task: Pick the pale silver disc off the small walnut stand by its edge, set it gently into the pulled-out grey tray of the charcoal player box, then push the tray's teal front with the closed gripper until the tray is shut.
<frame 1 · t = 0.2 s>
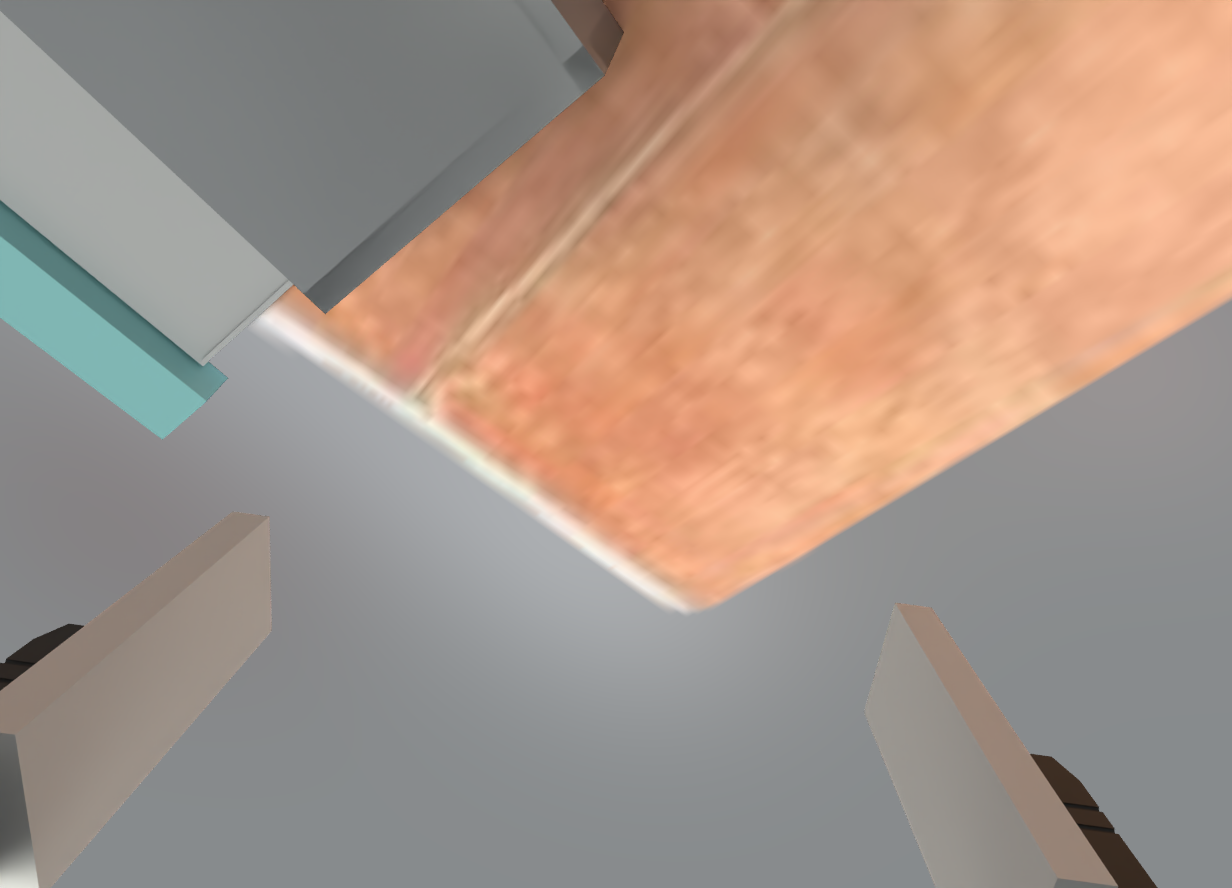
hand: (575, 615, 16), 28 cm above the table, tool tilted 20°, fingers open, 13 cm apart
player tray: (57, 197, 39), point 1 cm above the table, slide at 15.0 cm
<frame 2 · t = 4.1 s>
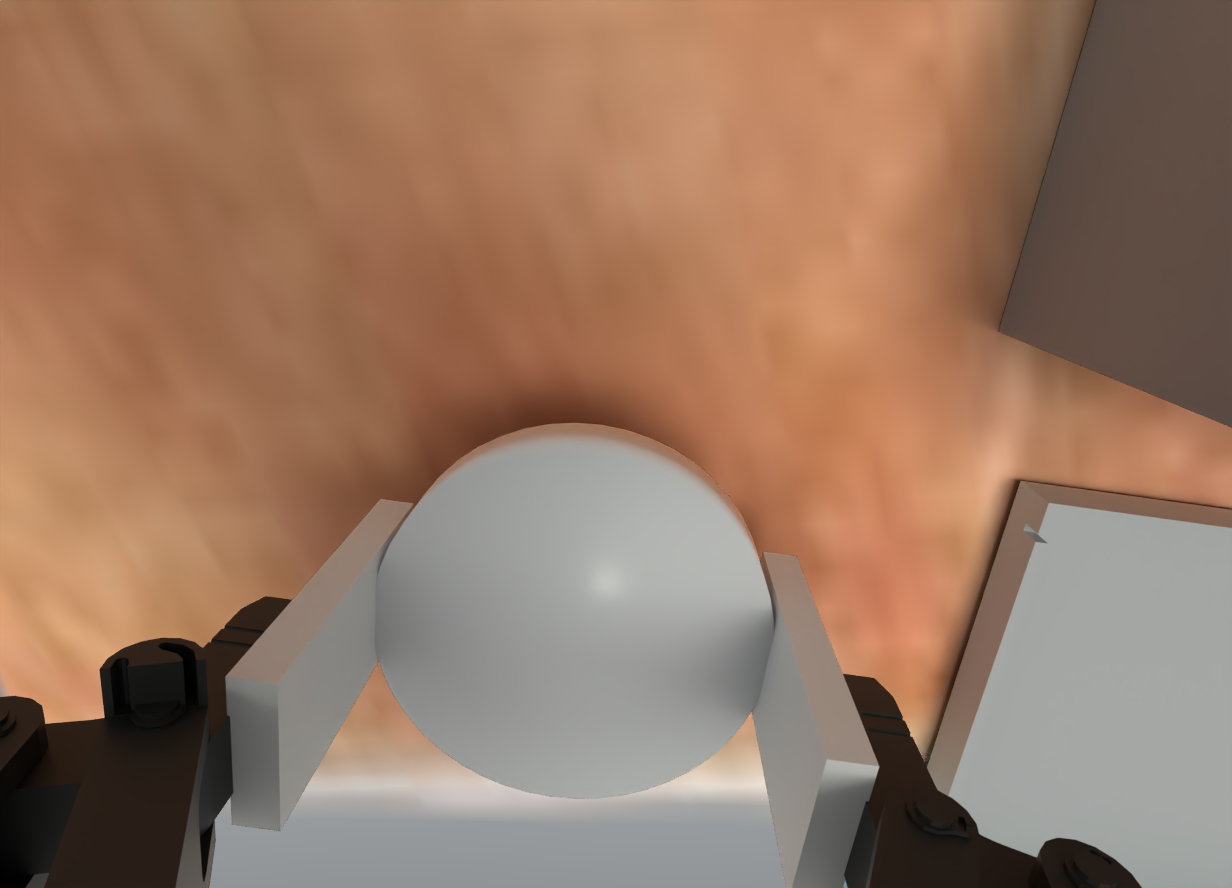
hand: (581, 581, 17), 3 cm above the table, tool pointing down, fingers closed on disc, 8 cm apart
disc: (578, 597, 17), point 3 cm above the table, touching disc stand, gripper
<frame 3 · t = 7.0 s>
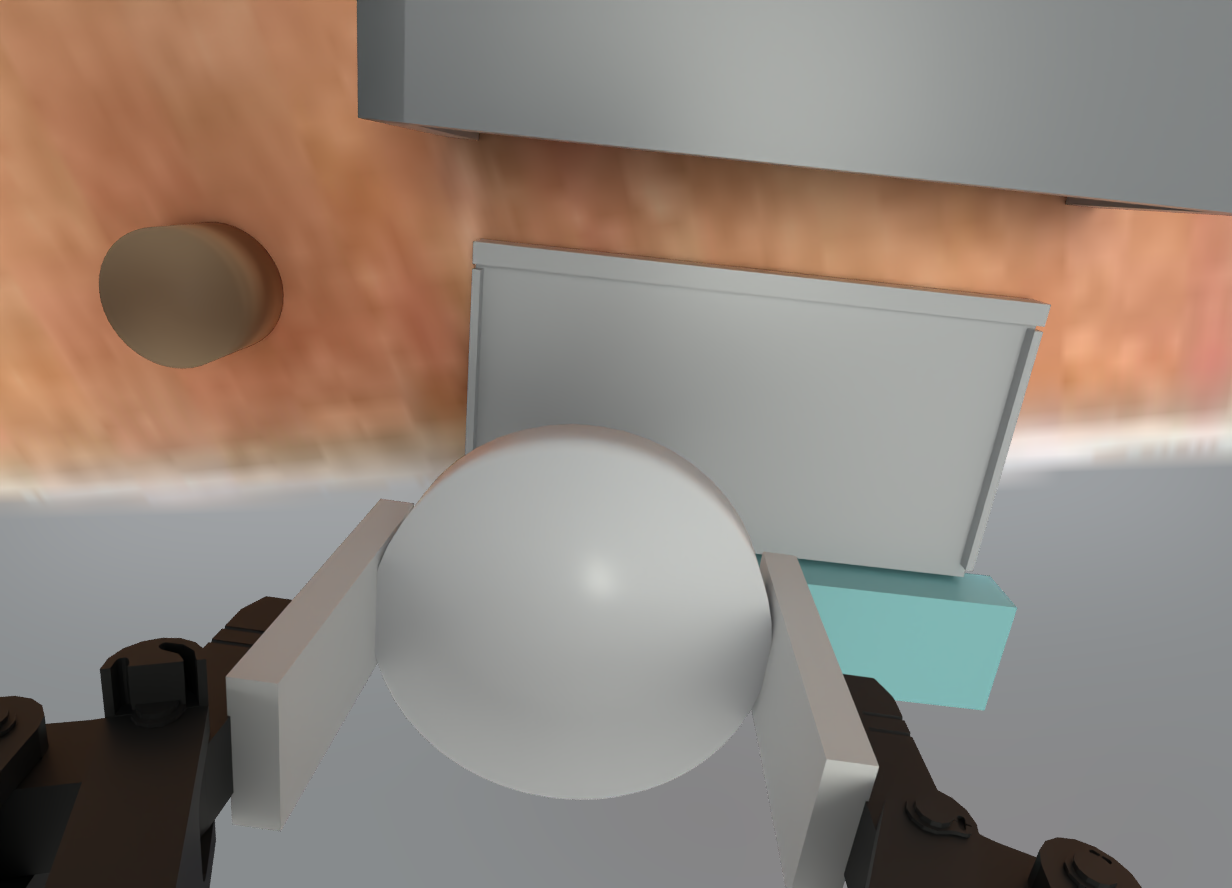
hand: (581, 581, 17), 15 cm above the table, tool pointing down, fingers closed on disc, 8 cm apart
disc stand: (221, 287, 30), on the table
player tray: (726, 483, 31), point 2 cm above the table, slide at 15.0 cm
disc: (576, 598, 17), point 15 cm above the table, touching gripper
when the fingers open (2 cm above the table, at t = 10.2 s): disc drops 1 cm, resting on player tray.
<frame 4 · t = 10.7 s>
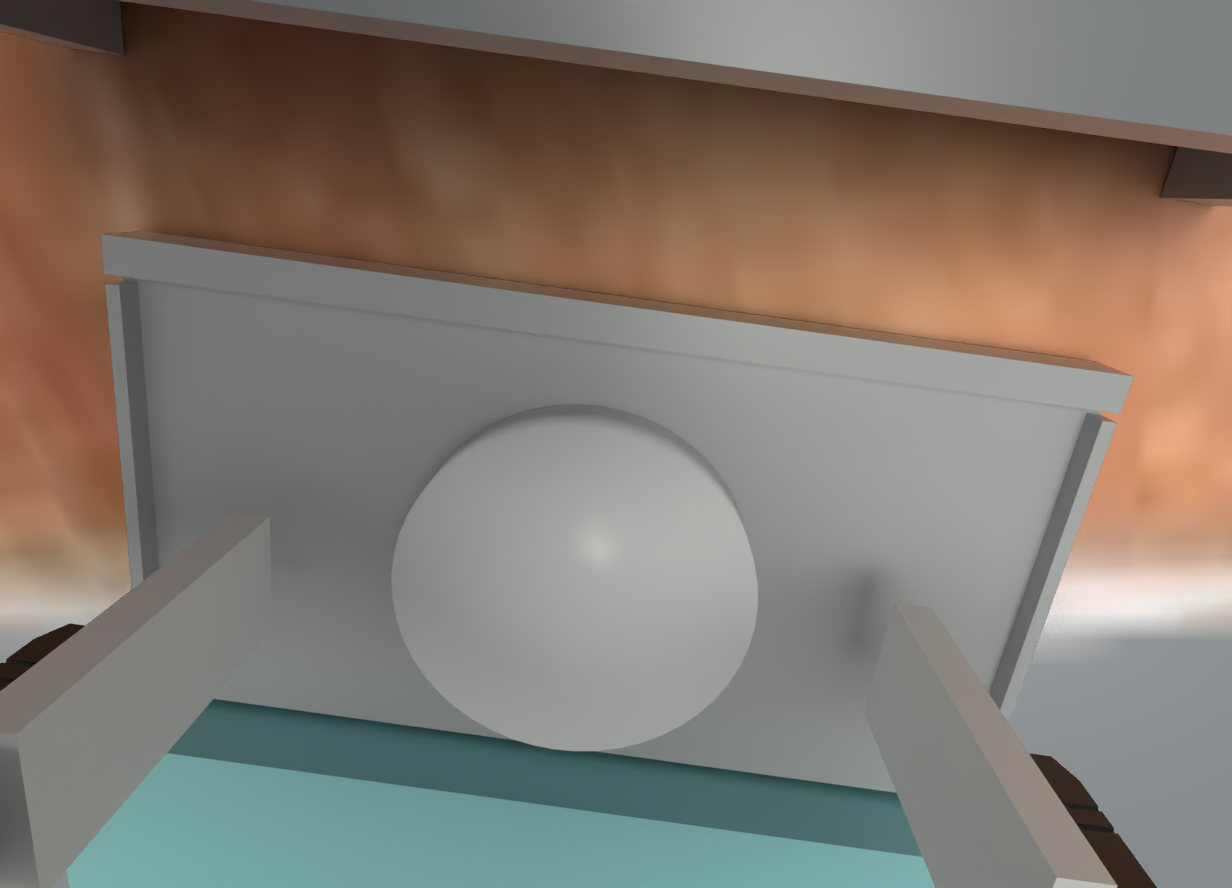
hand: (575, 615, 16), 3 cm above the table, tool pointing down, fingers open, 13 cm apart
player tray: (572, 653, 18), point 2 cm above the table, slide at 15.0 cm, touching disc
disc: (579, 566, 18), point 1 cm above the table, touching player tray
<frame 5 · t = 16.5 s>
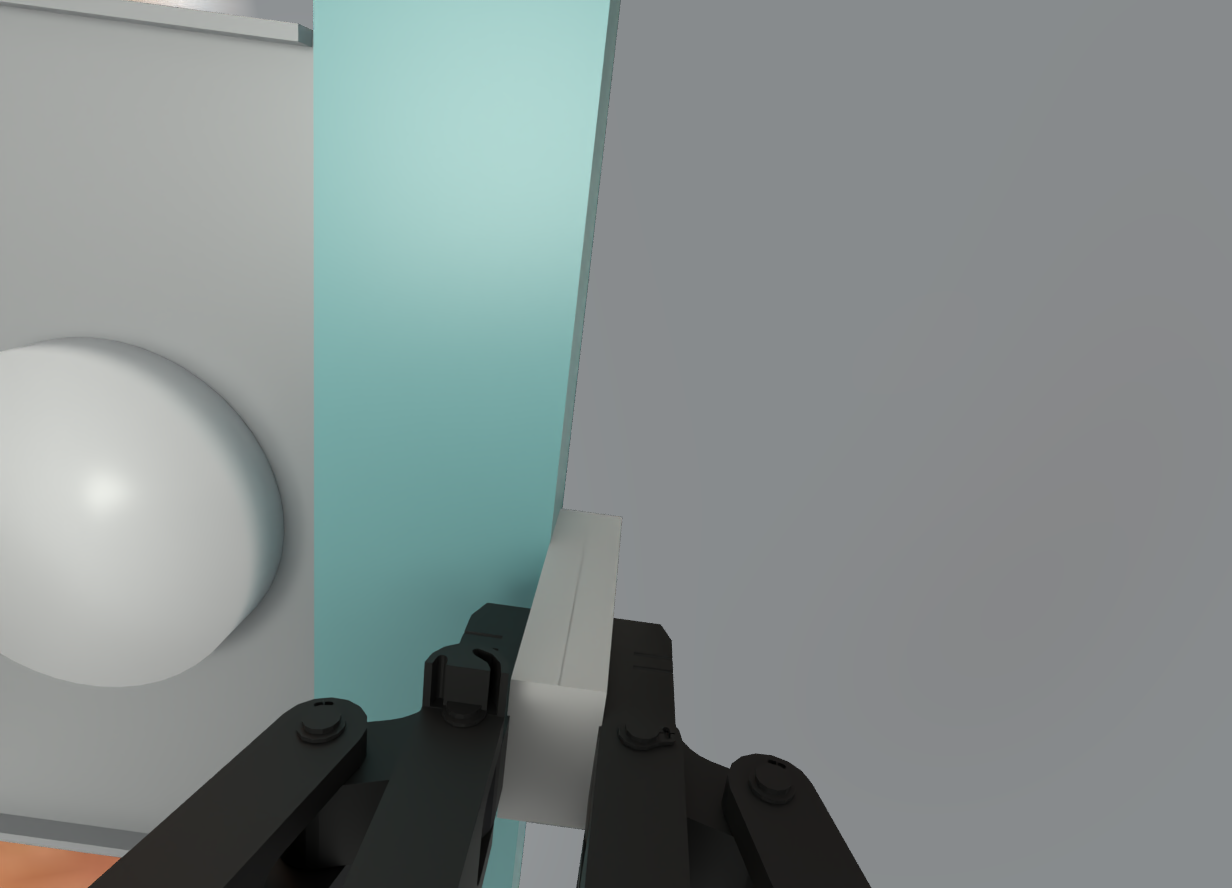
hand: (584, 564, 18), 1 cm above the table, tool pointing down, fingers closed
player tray: (192, 520, 18), point 2 cm above the table, slide at 13.6 cm, touching disc, gripper
disc: (118, 503, 18), point 1 cm above the table, touching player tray
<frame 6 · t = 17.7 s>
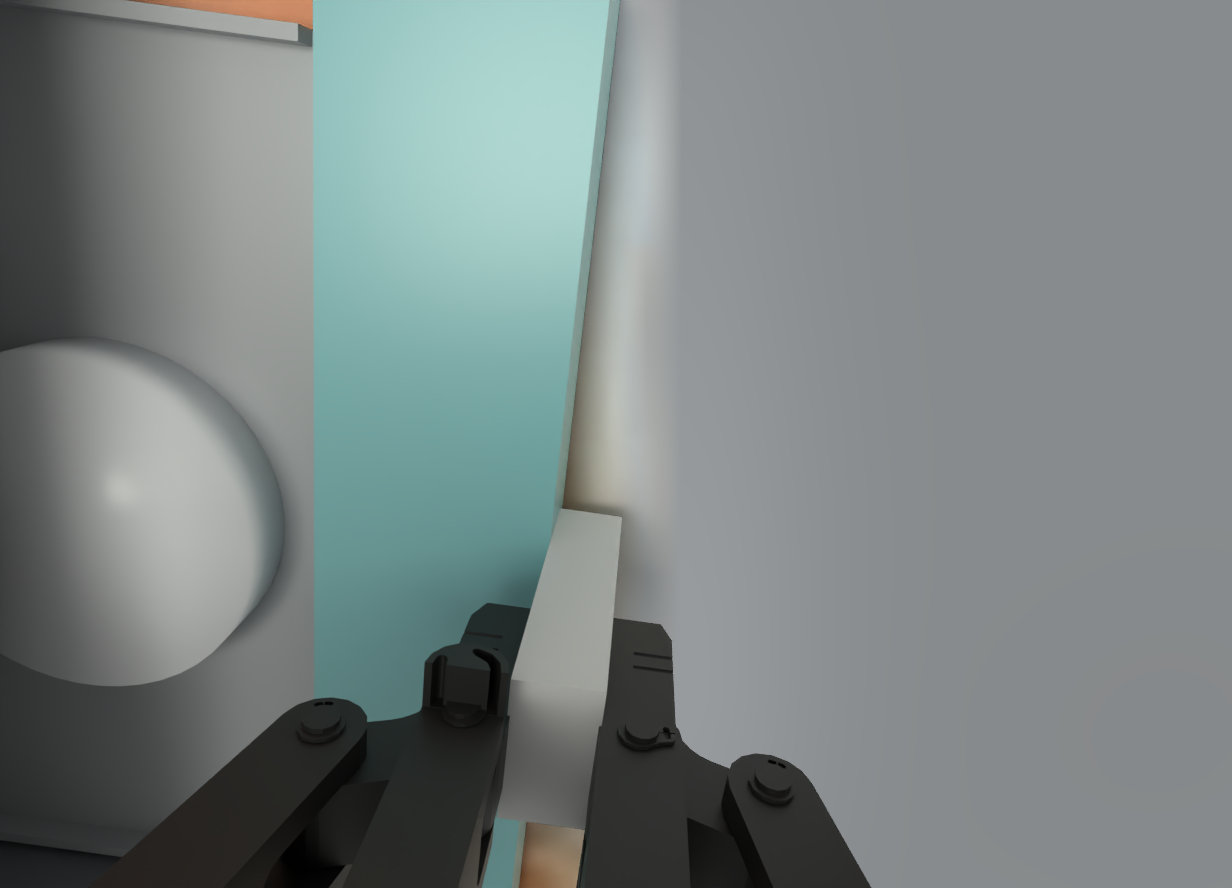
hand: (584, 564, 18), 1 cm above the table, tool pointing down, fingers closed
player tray: (192, 519, 18), point 1 cm above the table, slide at 4.9 cm, touching disc, gripper
disc: (119, 503, 18), point 1 cm above the table, touching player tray
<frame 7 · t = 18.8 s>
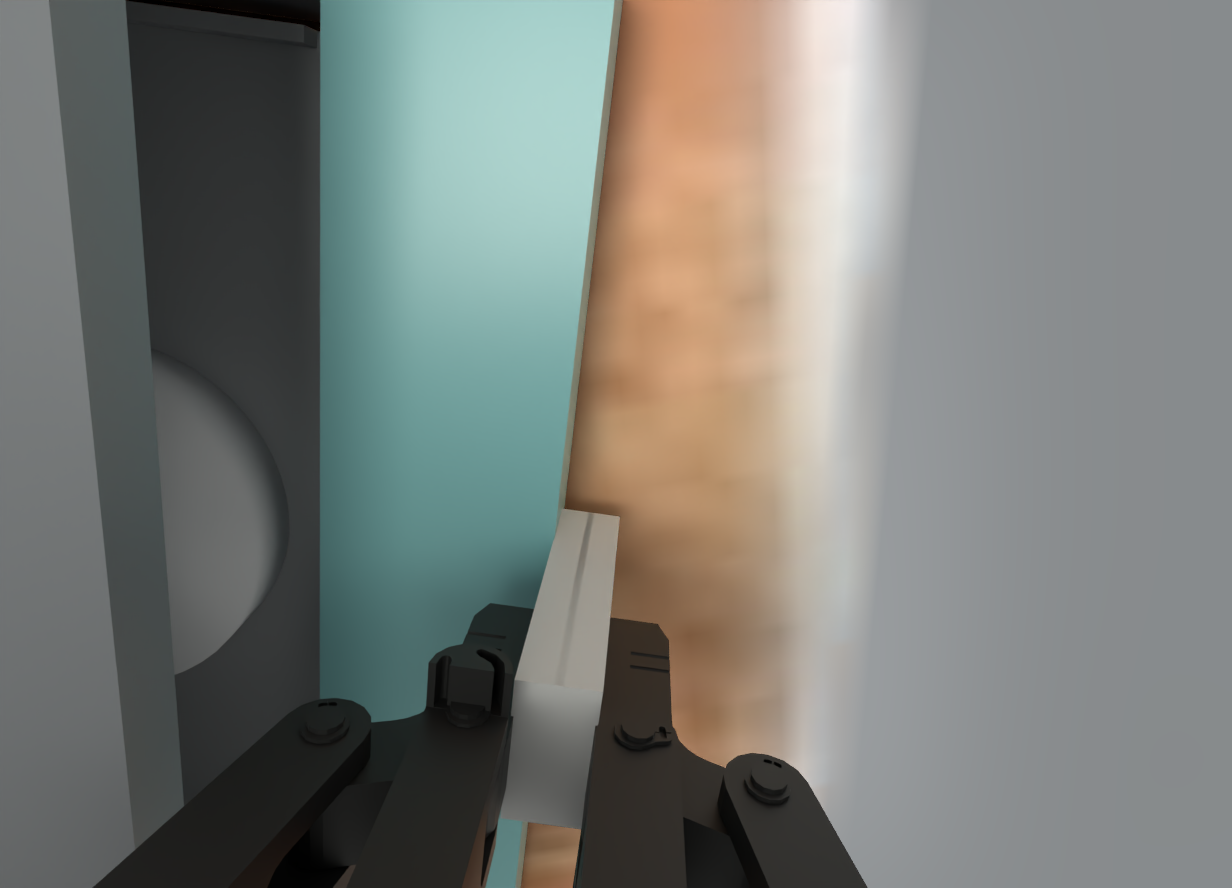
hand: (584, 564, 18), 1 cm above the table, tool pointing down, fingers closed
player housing: (61, 471, 19), on the table
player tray: (197, 518, 18), point 1 cm above the table, slide at -0.1 cm, touching disc, gripper
disc: (123, 501, 18), point 1 cm above the table, touching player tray
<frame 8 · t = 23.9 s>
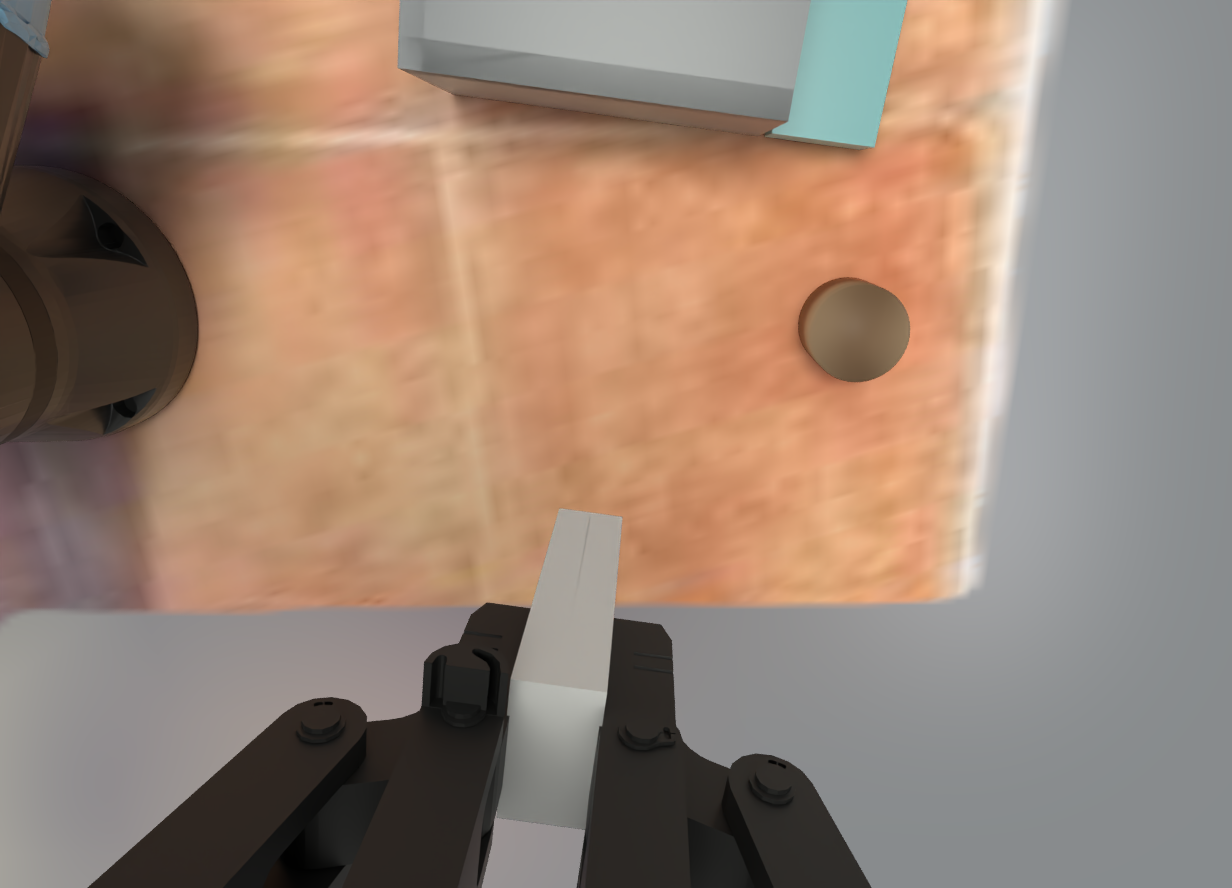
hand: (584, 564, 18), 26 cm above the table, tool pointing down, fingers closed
disc stand: (843, 323, 42), on the table
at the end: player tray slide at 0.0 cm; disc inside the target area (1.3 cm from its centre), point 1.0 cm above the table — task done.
